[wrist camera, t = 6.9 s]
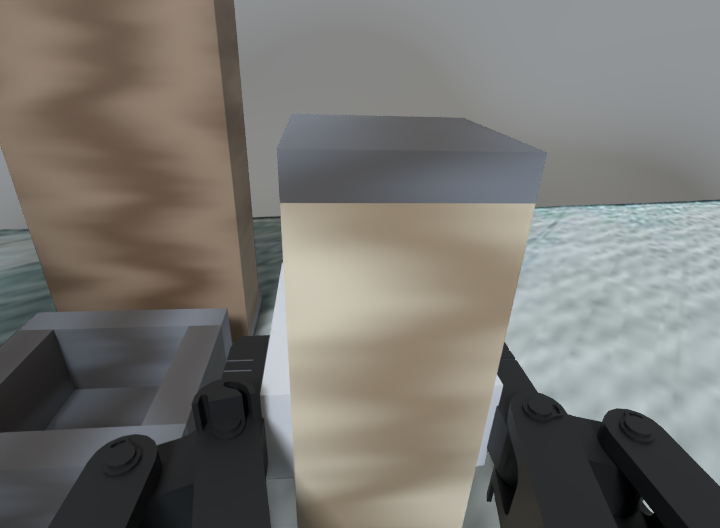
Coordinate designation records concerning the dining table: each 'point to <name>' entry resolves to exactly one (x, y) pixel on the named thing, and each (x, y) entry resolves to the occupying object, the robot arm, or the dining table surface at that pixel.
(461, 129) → the beige wooden tall block
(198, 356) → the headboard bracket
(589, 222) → the dining table surface
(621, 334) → the dining table surface
